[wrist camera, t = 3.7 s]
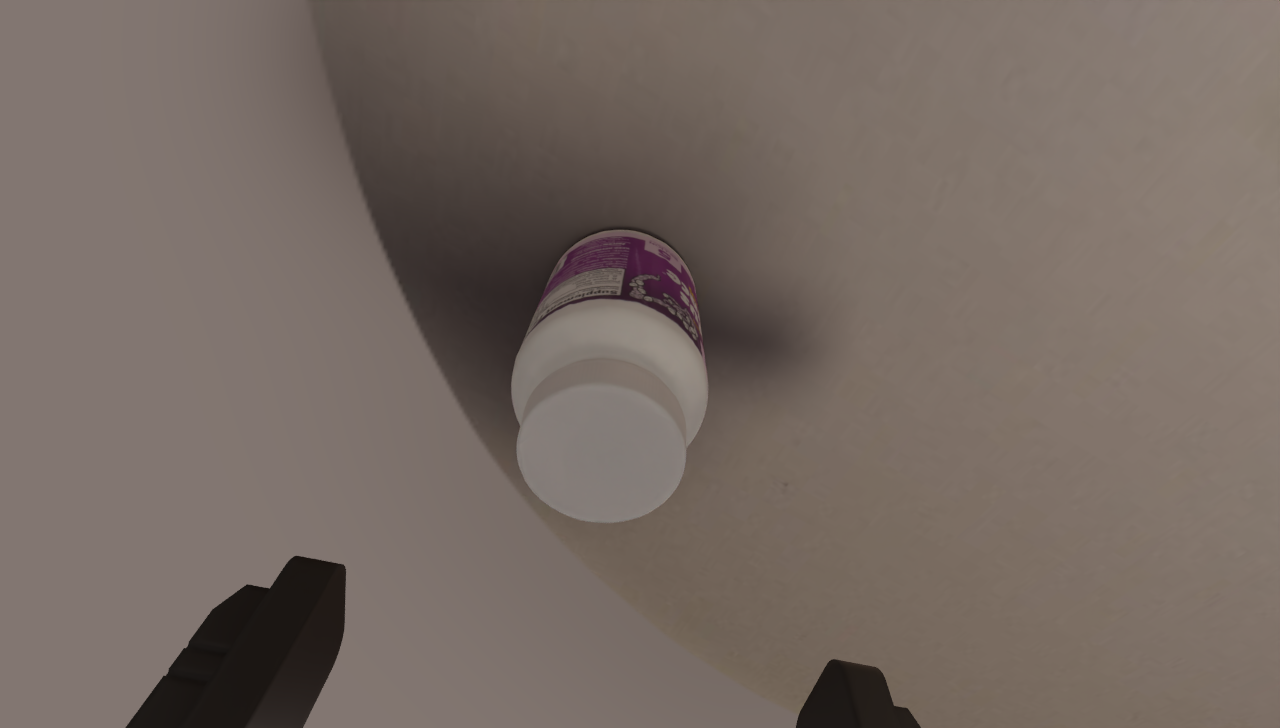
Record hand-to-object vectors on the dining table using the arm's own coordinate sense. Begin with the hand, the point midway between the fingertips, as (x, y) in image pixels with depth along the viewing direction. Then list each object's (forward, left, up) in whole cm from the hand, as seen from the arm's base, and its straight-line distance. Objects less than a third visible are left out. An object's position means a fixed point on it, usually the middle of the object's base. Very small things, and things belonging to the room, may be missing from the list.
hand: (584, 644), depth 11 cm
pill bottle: (0, 0, -15) cm, 15 cm away
